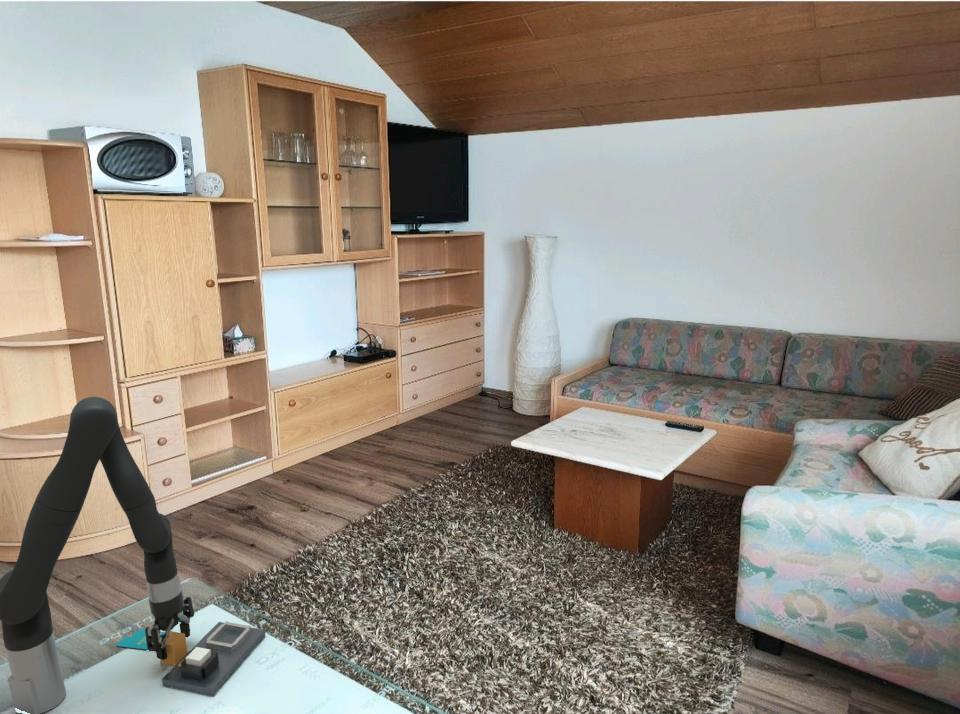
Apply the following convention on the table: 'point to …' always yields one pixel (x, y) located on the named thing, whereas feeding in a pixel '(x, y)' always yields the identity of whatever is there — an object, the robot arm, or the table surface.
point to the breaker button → (198, 656)
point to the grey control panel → (215, 658)
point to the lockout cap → (175, 648)
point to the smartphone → (135, 641)
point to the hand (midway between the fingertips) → (174, 647)
